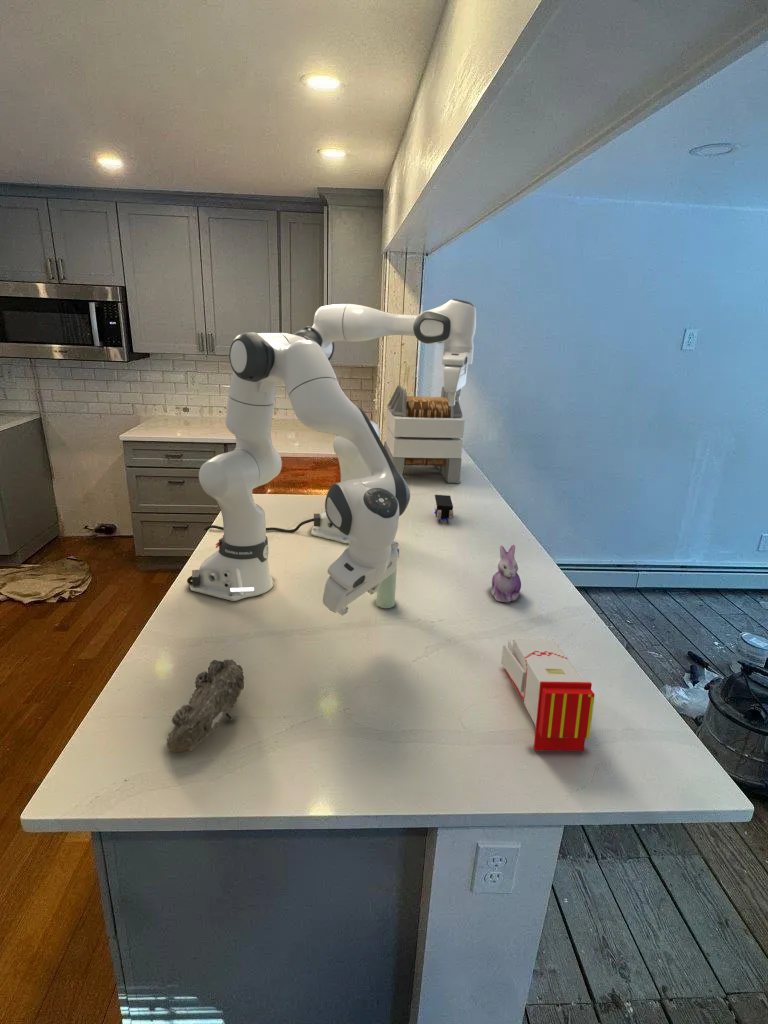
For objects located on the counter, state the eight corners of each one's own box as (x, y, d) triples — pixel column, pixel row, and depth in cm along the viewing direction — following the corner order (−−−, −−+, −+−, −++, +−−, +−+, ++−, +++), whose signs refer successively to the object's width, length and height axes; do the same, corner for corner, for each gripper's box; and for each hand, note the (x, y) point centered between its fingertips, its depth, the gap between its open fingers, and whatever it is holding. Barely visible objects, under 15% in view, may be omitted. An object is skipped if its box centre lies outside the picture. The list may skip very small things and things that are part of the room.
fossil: (192, 660, 117) (244, 628, 112) (224, 691, 120) (276, 661, 115) (142, 746, 98) (202, 712, 93) (182, 779, 101) (242, 748, 96)
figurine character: (453, 528, 210) (448, 510, 224) (455, 510, 207) (450, 493, 220) (435, 528, 210) (432, 510, 223) (437, 509, 207) (433, 492, 220)
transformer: (382, 463, 289) (386, 382, 275) (445, 464, 293) (451, 384, 279) (390, 482, 257) (394, 392, 243) (460, 483, 261) (468, 394, 247)
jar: (375, 599, 154) (377, 547, 149) (393, 599, 155) (396, 547, 150) (376, 608, 150) (379, 555, 145) (395, 608, 150) (398, 555, 145)
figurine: (503, 606, 153) (510, 556, 148) (480, 590, 162) (486, 542, 156) (530, 600, 157) (537, 550, 152) (507, 584, 166) (513, 537, 161)
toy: (549, 621, 128) (604, 690, 99) (544, 676, 131) (595, 758, 101) (496, 620, 128) (535, 688, 98) (492, 675, 130) (528, 757, 101)
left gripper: (388, 529, 126) (377, 572, 135) (322, 571, 113) (314, 615, 121) (410, 545, 123) (397, 588, 132) (344, 590, 110) (334, 634, 119)
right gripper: (453, 354, 180) (449, 398, 185) (441, 358, 161) (437, 407, 166) (473, 355, 178) (468, 399, 183) (463, 360, 160) (459, 409, 164)
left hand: (357, 601), depth 127 cm, fingers open, 8 cm apart
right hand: (454, 403), depth 174 cm, fingers open, 8 cm apart
